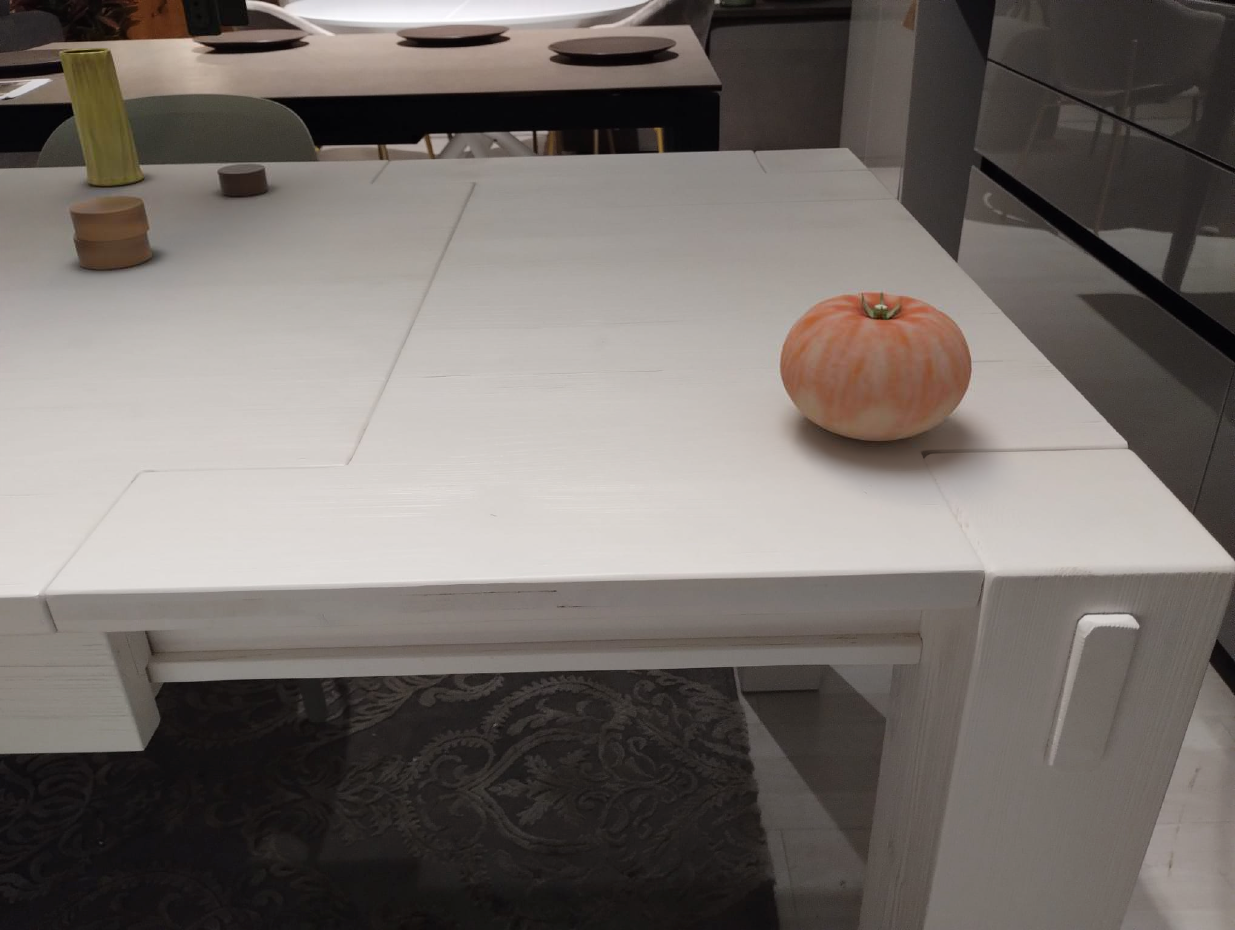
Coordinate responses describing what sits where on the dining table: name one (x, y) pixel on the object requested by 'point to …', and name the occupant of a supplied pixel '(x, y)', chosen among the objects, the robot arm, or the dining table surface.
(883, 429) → the tomato
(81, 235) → the pile chip top
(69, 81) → the vase
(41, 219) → the dining table surface
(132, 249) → the pile chip bottom
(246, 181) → the walnut chip
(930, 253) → the dining table surface
